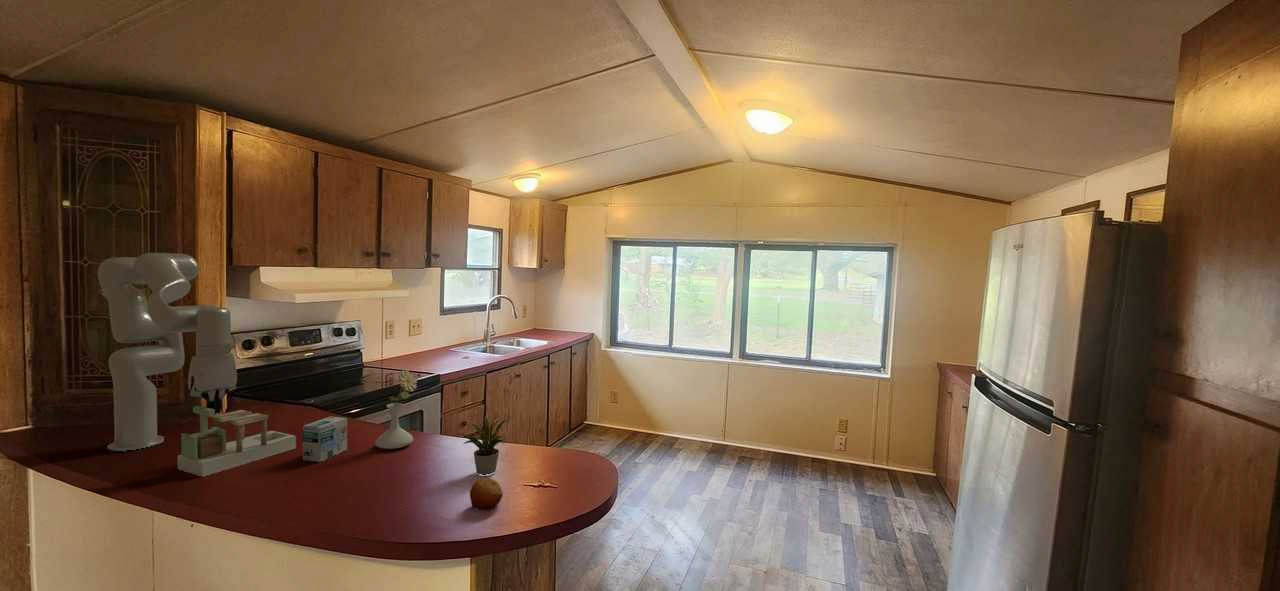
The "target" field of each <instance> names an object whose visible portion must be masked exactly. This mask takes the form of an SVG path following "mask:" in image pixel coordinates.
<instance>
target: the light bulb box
mask: <svg viewBox="0 0 1280 591" xmlns="http://www.w3.org/2000/svg"><path fill="white" fill-rule="evenodd" d="M345 450H347V451H348V418H347V417H339V416H333V415H332V416H331V415H330V416H327V417H324V418H322V419H319V420H316V421H312V422H310V423H307V424H305V425H302V460H303V461H307V460H308V461H309V462H315V461H316V463H322V462H324V461H327V460H329V459H331V458H333V457H332V456H334V455H336V456H338V455H340V454H339V453H341V452H343V451H345ZM343 453H344V452H343ZM337 454H338V455H337ZM341 454H342V453H341ZM330 457H331V458H330ZM334 457H335V456H334ZM328 458H329V459H328ZM326 459H327V460H326ZM308 461H307V462H308ZM321 461H322V462H321Z"/></svg>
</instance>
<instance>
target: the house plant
mask: <svg viewBox="0 0 1280 591" xmlns="http://www.w3.org/2000/svg"><path fill="white" fill-rule="evenodd" d="M510 419H511V417H509V418H505V419H503V420H498V421H495V423H493V421H491V422H490V421H489V419H488V417H487V416H485V417H484V427H483V426H482V425H481V424H480V423H479V422H477V421H475V423H477V424H478V425H479V426H480V427H479V426H478V425H477V424H475V423H472V422H470V421H466V424H470V426H471V427H473V428H474V429H475V430H476V432H477V434H476V432H474V431H473V430H472V429H471V428H468V427H467V429H468V430H470V431H472V432H473V433H475V435H476V436H477V437H478V438H479V439H478V438H476V437H475V436H472V435H470V434H467V433H463V432H459V434H460V435H461V436H464V437H465V438H466V439H468V440H467V441H465V442H464V443H463V445H465V444H469V443H472V444H474V445H475V446H476V447H477V448H478V449H476V450H474V452H473V459H474V464H475V469H476V470H475V471H476V474H477V473H478V474H482V475H486V474H491V473H493V472H495V471H496V472H497V465H498V460H499V454H500V449H498V448H495V446H496V445H498V444H500V443H503V444H505V440H504V439H502V438H505V436H502V435H499V434H500V433H501V431H500V430H503V429H504V428H505V426H504V427H502V426H503V425H504V423H506V421H508V420H510ZM489 422H490V423H489ZM499 422H500V423H499ZM497 423H499V424H498V425H497ZM496 425H497V427H496V428H495V431H494V432H493V430H494V427H495V426H496ZM492 432H493V433H492ZM496 472H495V473H496Z"/></svg>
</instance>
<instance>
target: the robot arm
mask: <svg viewBox="0 0 1280 591" xmlns="http://www.w3.org/2000/svg"><path fill="white" fill-rule="evenodd" d="M97 269H98V270H97V278H98V283H99V285H100V287H101V289H102V291H103V293H104V295H105V297H106V299H107V304H108V312H109V320H110V328H111V333H112V336H113V339H114V340H115V341H117V343H121V344H122V343H123V344H130V343H131V344H133V343H136V344H137V343H145V342H157V343H159V344H153V345H141V346H131V347H124V348H120V349H118V350H115V351H114V352H112V353H111V355H110V356H109V358H108V368H109V371H110V375H111V378H112V379H111V380H112V386H113V417H114V419H113V420H114V422H113V423H114V442H111V443H109V444H108V445H107V446H106V447H107V448H106V449H109V450H113V451H123V452H127V451H126V450H133V451H137V450H136V449H139V450H142V449H141V448H144V449H147V448H146V447H148V448H151V446H152V447H155V446H157V444H158V445H160V444H161V443H163V442H164V440H165V437H164V436H163V435H158V403H157V402H158V401H157V400H158V396H157V395H158V394H157V388H156V387H157V386H155V384H154V383H153V382H152V381H150V380H149V379H148V378H147V377H148V376H153V375H159V374H160V375H161V374H165V373H166V374H167V373H173V372H177V371H179V370H181V369H182V368H183V367H184V364H185V359H186V358H185V355H186V354H185V347H184V340H183V333H188V332H189V333H190V332H195V354H196V355H194V356H193V355H192V357H191V360H190V365H189V369H188V378H187V380H188V381H187V386H188V390H189V391H190V394H189V396H190V397H194V398H196V397H197V398H202V399H203V400H205V401H206V403H205V405H206V407H205V408H210V409H215V415H217V414H220V413H221V414H222V412H221V410H222V408H223V407H222V406H223V401H222V400H224V398H225V396H226V395H227V394H228V393H229V392H231V391H234V390H236V389H237V381H238V374H237V373H238V371H237V370H238V369H237V363H236V358H235V356H234V353H232V350H233V349H236V344H234V343H233V344H232V343H231V341H232V340H231V336H232V333H231V330H232V329H231V328H232V327H231V310H230V309H228V308H227V307H221V306H220V307H219V306H218V307H217V306H215V305H210V304H209V305H207V304H206V305H179V306H177V305H174V306H170V305H169V304H170V303H173V302H175V301H178V300H180V299H182V298H184V297H185V296H187V294H189V293H190V291H191V288H192V285H191V282H190V281H192V280H193V279H195V278H196V277H197V276H198V274H199V270H200V269H199V263H198V262H197V261H196V259H195V258H194V257H193V256H191V255H190V254H189V255H188V254H186V253H172V252H171V253H170V252H148V253H143V254H141V255H139V256H138V257H135V256H134V257H130V256H126V257H125V256H124V257H123V256H121V257H120V256H119V257H111V258H107V259H105V260H103V261H101V263H100V264H99V266H98V268H97ZM134 285H146V286H147V287H148V288H149V289H150V290H151V293H150V294H149V296H148V299H147V297H146V296H145V295H144V293H143V292H141V290H139V289H138V288H137V287H135V286H134ZM154 445H155V446H154ZM109 450H108V451H109ZM113 451H112V452H113Z"/></svg>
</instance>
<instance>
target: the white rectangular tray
mask: <svg viewBox="0 0 1280 591" xmlns="http://www.w3.org/2000/svg"><path fill="white" fill-rule="evenodd" d="M296 448H297V436H296V435H293V434H288V433H284V432H280V431H275V430H268V431H267V444H266V445H261V433H257V434H254V435H250V436H246V437H244V439H243V440H242V452H236V439H234V440H231V441H228V442H227V441H226V451H224V452H223V451H222V453H220V454H217V455H213V456H210V457H206V458H203V459H200V458H198V459H196V460H194V459H191V458H187V457H184V456H182V454H178V455H177V470H178V469H179V471H181V470H183V471H182V472H185V473H188V472H189V473H188V474H191V473H192V475H194V474H195V475H194V476H198V477H201V476H202V478H204V477H207V475H208V476H210V474H211V475H213V473H214V474H217V473H220V472H222V471H223V470H224V471H227V470H230V469H233V468H236V467H240V466H243V465H246V464H249V463H253V462H255V461H259V460H262V459H265V458H268V457H272V456H275V455H278V454H281V453H285V452H287V451H291V450H294V449H296ZM252 461H253V462H252Z"/></svg>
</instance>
